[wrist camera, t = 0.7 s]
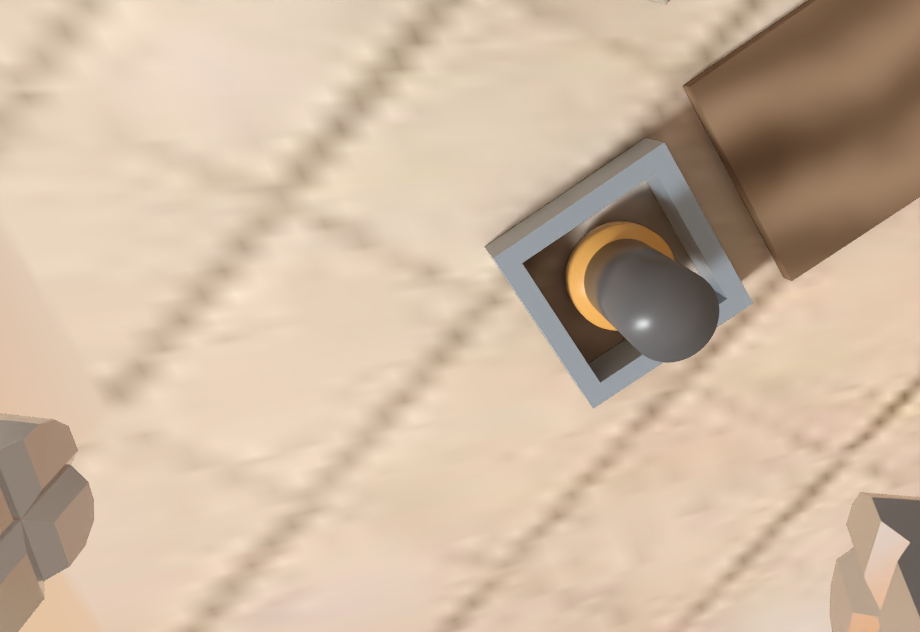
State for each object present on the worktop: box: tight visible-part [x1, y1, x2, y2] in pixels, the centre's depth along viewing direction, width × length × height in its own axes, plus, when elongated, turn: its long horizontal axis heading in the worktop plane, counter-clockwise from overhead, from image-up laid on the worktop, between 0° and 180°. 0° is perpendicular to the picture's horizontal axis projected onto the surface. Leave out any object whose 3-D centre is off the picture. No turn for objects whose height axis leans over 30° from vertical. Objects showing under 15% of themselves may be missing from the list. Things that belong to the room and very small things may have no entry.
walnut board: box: [683, 0, 920, 281], centre depth 48 cm, size 14×14×1 cm
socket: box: [485, 138, 753, 408], centre depth 48 cm, size 11×11×3 cm
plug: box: [565, 221, 719, 362], centre depth 45 cm, size 6×6×10 cm
